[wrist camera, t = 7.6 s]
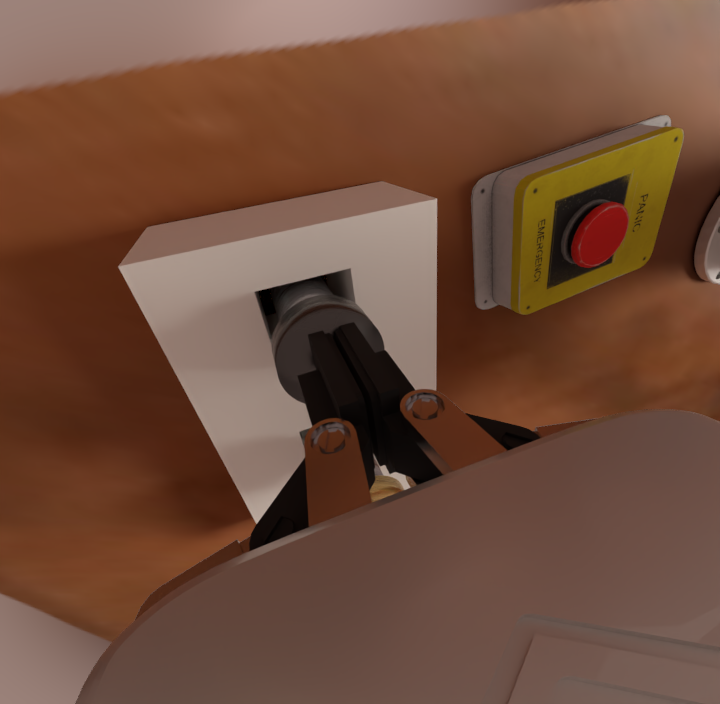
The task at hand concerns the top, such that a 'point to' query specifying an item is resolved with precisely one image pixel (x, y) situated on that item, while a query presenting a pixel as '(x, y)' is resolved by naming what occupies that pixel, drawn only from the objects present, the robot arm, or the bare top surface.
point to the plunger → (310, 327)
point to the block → (255, 330)
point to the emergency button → (572, 216)
